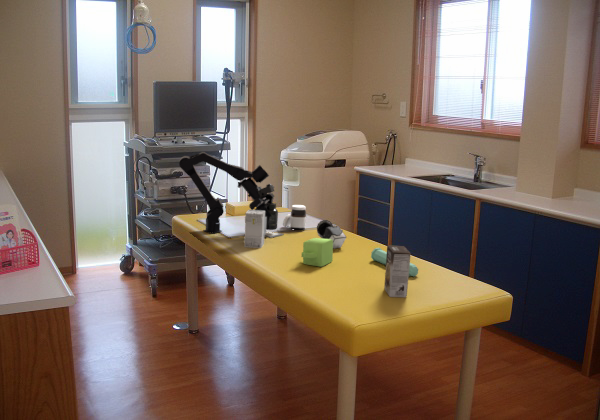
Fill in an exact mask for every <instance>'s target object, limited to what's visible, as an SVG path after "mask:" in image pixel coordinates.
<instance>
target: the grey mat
mask: <svg viewBox="0 0 600 420" xmlns="http://www.w3.org/2000/svg"><path fill="white" fill-rule="evenodd" d="M266 232H267V231H266ZM274 232H275V231H273V233H272V232H269V233H268V232H267V233H266V234H265V236H264V238H265V237H266V238H269V239H272V238H277V237H281V236H284V233H281V232H277V233H274Z"/></svg>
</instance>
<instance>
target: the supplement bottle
mask: <svg viewBox="0 0 600 420" xmlns="http://www.w3.org/2000/svg"><path fill="white" fill-rule="evenodd" d="M266 207H267V209H268V211H269V212H270V214H271V217H268V216H266V215H265V217H267V219H266V231H276V230H277V229H278V223H279V222H278V220H279V218H278V217H279V211H278V209H277V203H275V202H273V203H266Z"/></svg>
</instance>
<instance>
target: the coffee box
mask: <svg viewBox="0 0 600 420" xmlns="http://www.w3.org/2000/svg"><path fill="white" fill-rule="evenodd" d="M386 252H387V257H386V265H385V273H384V286H383V287H384V290H385V292H386V293H387V295H388V297H390V298H407V297H406V296H408V287H409V277H410V276H409V267H410V263H411V252H410V251H409V250H408V249H407V247H405V245H390V244H388V245H386Z"/></svg>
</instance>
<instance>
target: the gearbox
mask: <svg viewBox="0 0 600 420" xmlns="http://www.w3.org/2000/svg"><path fill="white" fill-rule="evenodd" d="M302 246H303V250H302V252H301V258H302V264H304V265H309V266H314V267H325V266H326V265H328V264H330V263H332V262H333V258H334V257H333V253H334V251H333V250H334V249H333V240H331V239H323V238H321V237H313V238H310V239H307V240H306V241H304V242H303V245H302Z"/></svg>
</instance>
